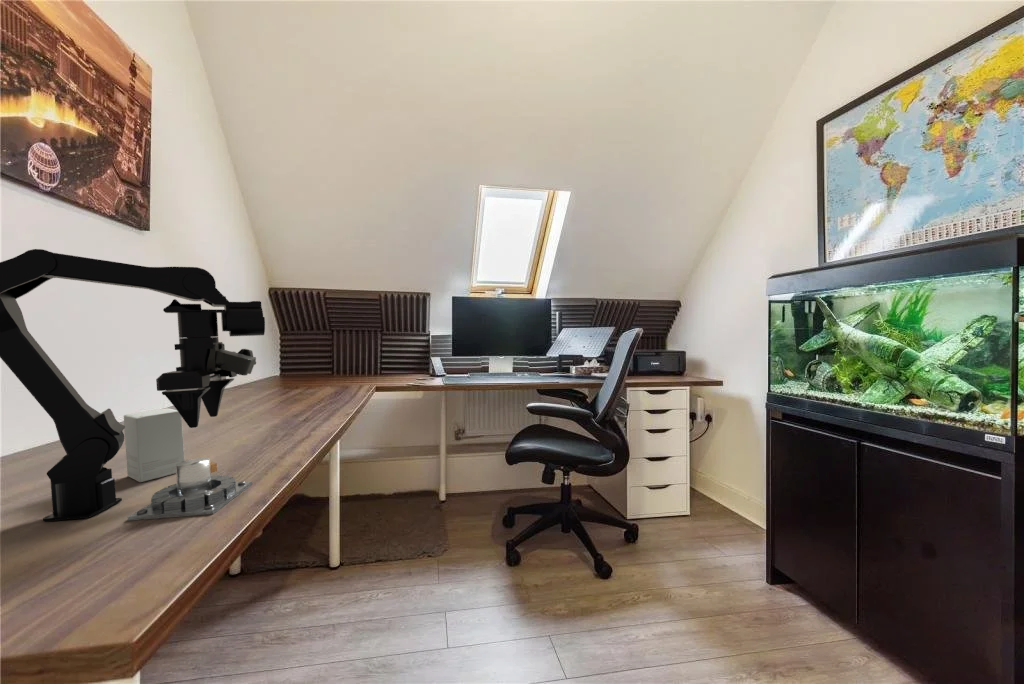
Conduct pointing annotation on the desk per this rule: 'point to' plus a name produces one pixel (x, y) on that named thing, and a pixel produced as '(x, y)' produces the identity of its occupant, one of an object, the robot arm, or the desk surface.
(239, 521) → the desk surface
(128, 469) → the supplement box
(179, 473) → the silver metal cylinder
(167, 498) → the duct flange
